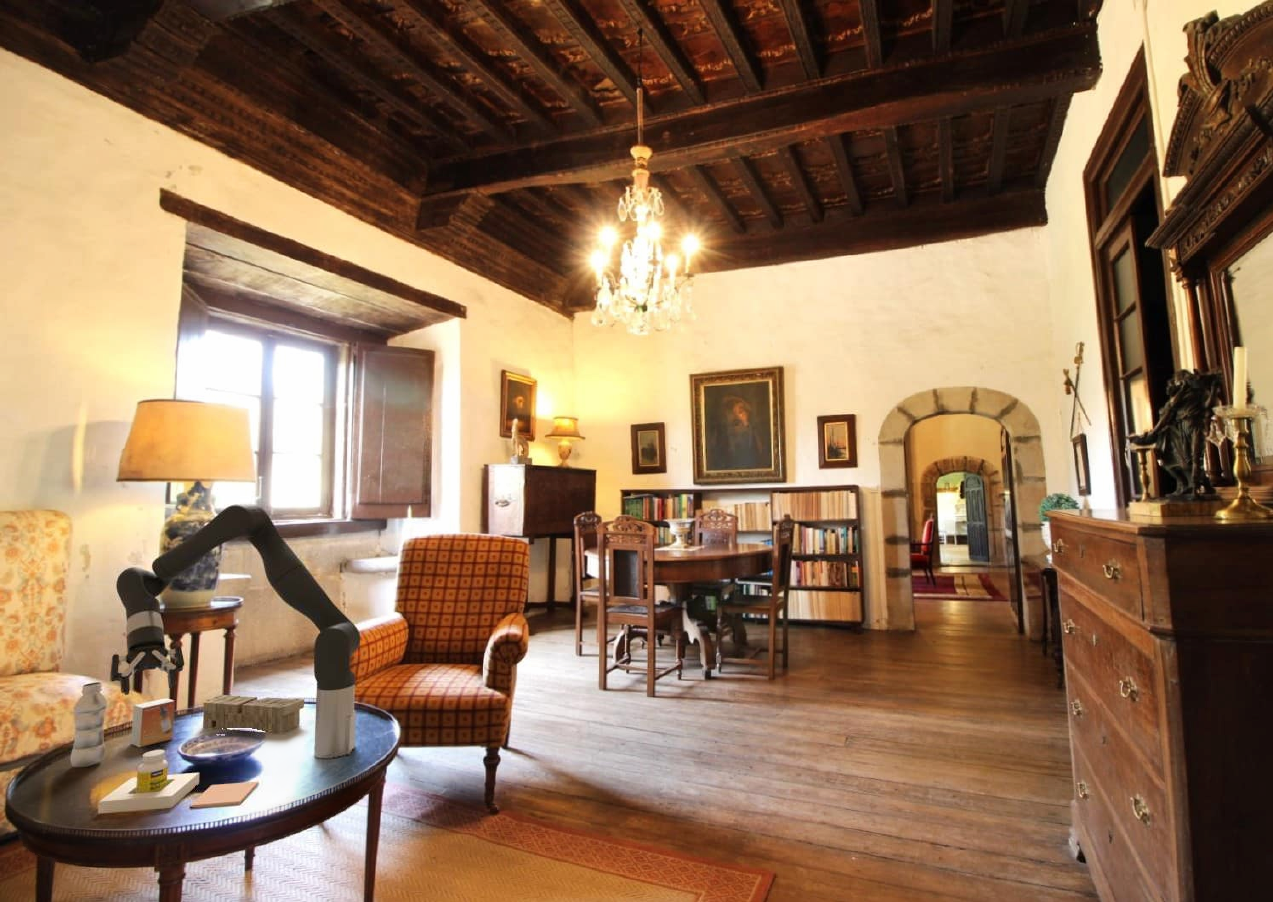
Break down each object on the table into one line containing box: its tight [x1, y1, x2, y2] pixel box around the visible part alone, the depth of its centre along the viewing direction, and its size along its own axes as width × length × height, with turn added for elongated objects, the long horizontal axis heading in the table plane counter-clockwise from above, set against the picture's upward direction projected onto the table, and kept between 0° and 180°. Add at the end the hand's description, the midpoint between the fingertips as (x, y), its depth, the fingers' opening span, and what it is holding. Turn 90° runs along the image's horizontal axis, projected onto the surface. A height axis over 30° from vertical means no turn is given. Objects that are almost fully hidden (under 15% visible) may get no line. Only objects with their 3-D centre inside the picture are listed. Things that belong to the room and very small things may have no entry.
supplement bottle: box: [136, 749, 169, 793], centre depth 142 cm, size 5×5×10 cm
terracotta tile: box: [189, 781, 259, 808], centre depth 143 cm, size 10×10×1 cm
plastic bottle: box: [69, 681, 108, 768], centre depth 160 cm, size 6×7×20 cm
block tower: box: [202, 694, 305, 735], centre depth 187 cm, size 8×8×29 cm
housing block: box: [97, 772, 200, 815], centre depth 142 cm, size 14×12×2 cm
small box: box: [130, 697, 176, 748], centre depth 176 cm, size 8×6×10 cm
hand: (149, 689), depth 152 cm, fingers open, 8 cm apart
